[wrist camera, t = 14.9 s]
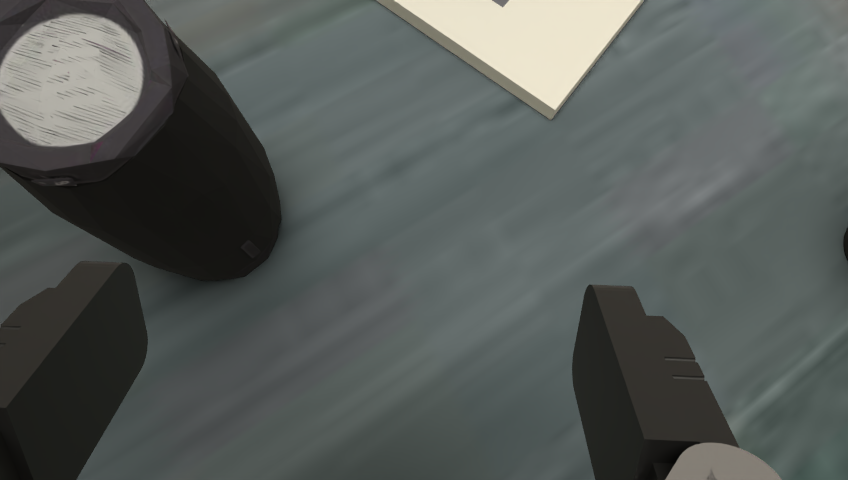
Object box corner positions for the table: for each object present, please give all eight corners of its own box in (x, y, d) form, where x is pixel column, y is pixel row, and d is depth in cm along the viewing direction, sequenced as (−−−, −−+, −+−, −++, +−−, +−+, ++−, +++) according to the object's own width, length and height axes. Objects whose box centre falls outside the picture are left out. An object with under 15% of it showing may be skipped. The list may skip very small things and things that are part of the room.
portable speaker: (127, 196, 43) (-106, 19, 24) (263, 137, 44) (144, -77, 25) (175, 316, 41) (-38, 228, 22) (316, 251, 42) (230, 113, 23)
